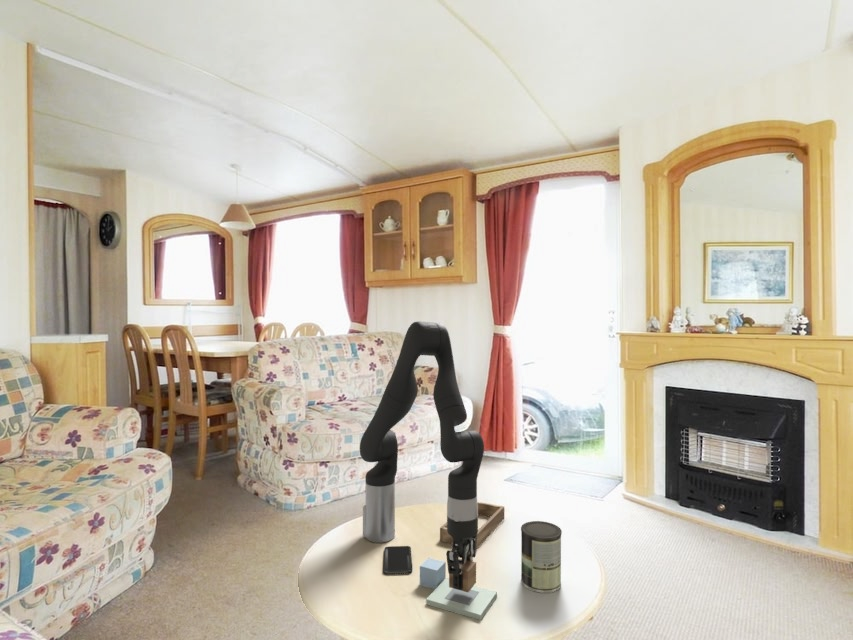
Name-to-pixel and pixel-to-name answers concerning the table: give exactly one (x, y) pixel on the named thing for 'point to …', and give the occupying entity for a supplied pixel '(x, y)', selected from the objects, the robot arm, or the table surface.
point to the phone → (397, 560)
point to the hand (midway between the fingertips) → (462, 582)
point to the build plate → (462, 600)
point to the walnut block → (466, 576)
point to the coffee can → (541, 556)
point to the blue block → (432, 573)
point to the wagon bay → (495, 518)
